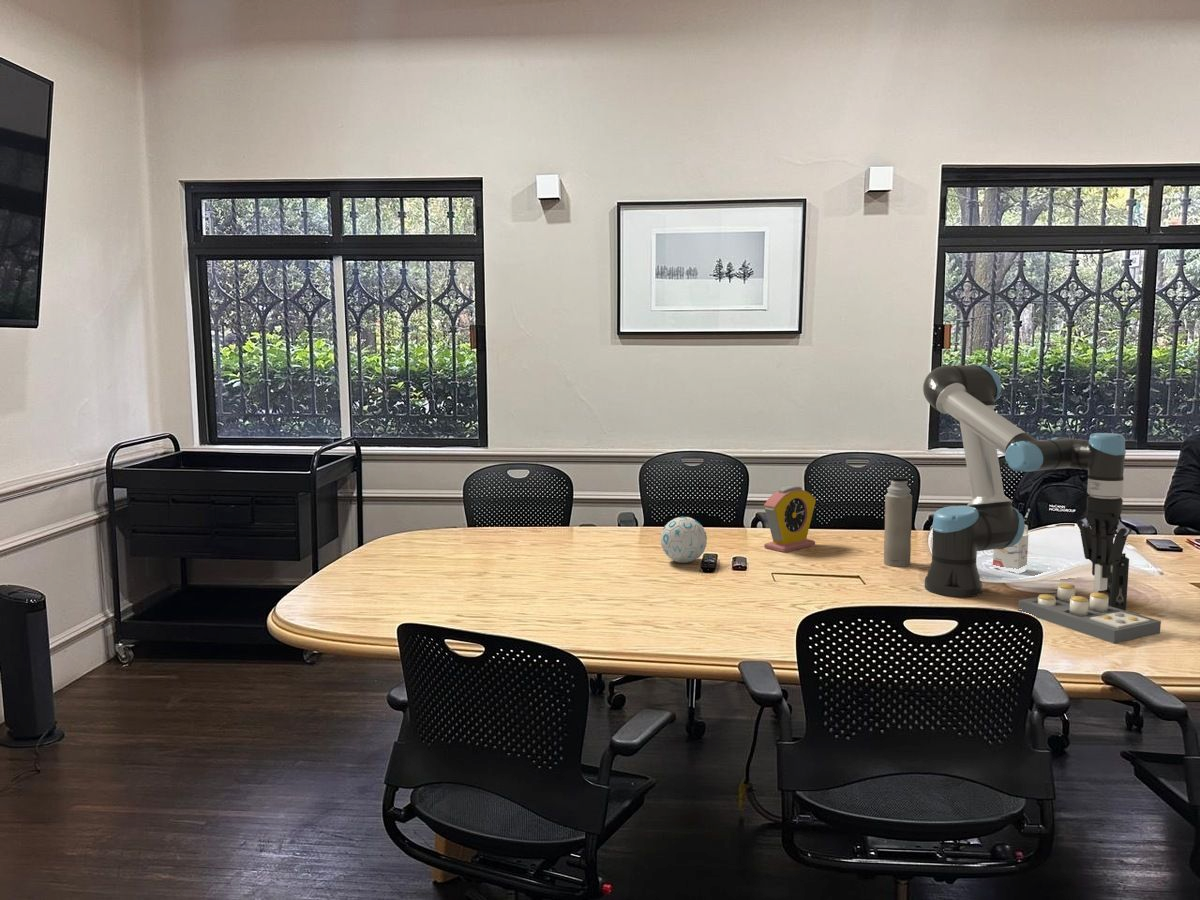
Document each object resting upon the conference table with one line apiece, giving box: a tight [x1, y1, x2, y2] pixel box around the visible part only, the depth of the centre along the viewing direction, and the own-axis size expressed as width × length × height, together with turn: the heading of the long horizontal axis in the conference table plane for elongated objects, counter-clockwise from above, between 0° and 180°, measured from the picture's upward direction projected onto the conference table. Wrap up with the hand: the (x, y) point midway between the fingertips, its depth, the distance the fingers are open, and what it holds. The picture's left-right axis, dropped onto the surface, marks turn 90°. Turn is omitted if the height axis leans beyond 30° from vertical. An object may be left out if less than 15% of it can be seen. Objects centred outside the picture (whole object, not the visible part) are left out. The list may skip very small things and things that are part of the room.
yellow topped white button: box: [1089, 591, 1109, 613], centre depth 205 cm, size 4×4×4 cm
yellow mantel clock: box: [763, 485, 817, 553], centre depth 286 cm, size 22×9×22 cm, turn 127°
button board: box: [1018, 593, 1162, 644], centre depth 204 cm, size 26×16×4 cm, turn 22°
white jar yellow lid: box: [1069, 595, 1089, 617], centre depth 202 cm, size 4×4×4 cm
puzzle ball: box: [660, 516, 708, 564], centre depth 268 cm, size 15×15×15 cm
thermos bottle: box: [883, 476, 913, 568], centre depth 261 cm, size 8×8×28 cm
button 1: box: [1037, 593, 1056, 607], centre depth 210 cm, size 4×4×4 cm
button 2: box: [1056, 582, 1076, 603], centre depth 213 cm, size 4×4×4 cm
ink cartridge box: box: [992, 524, 1029, 569], centre depth 252 cm, size 9×5×15 cm, turn 32°
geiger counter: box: [1097, 552, 1130, 611], centre depth 217 cm, size 10×4×15 cm, turn 170°
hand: (1100, 589), depth 204 cm, fingers closed
